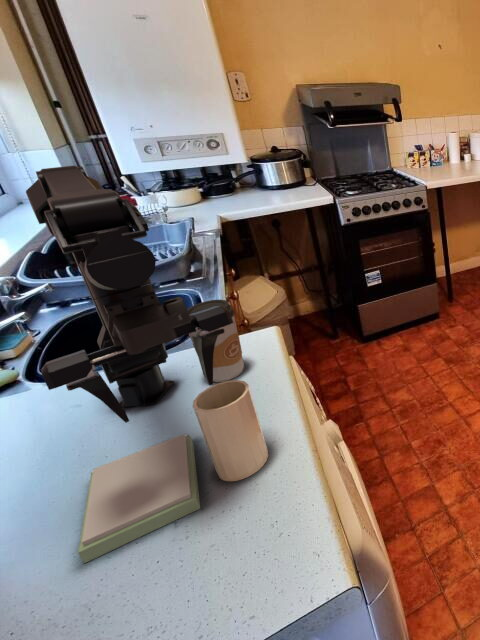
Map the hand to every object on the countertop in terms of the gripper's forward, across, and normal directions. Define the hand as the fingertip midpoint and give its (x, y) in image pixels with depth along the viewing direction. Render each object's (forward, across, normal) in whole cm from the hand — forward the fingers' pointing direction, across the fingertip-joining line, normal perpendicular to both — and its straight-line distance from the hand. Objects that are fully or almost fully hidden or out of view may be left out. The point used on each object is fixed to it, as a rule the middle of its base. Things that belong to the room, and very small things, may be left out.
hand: (171, 402), depth 58 cm
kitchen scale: (+13, -6, +10) cm, 17 cm away
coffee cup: (+6, +12, +32) cm, 34 cm away
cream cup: (+14, +6, +6) cm, 16 cm away
